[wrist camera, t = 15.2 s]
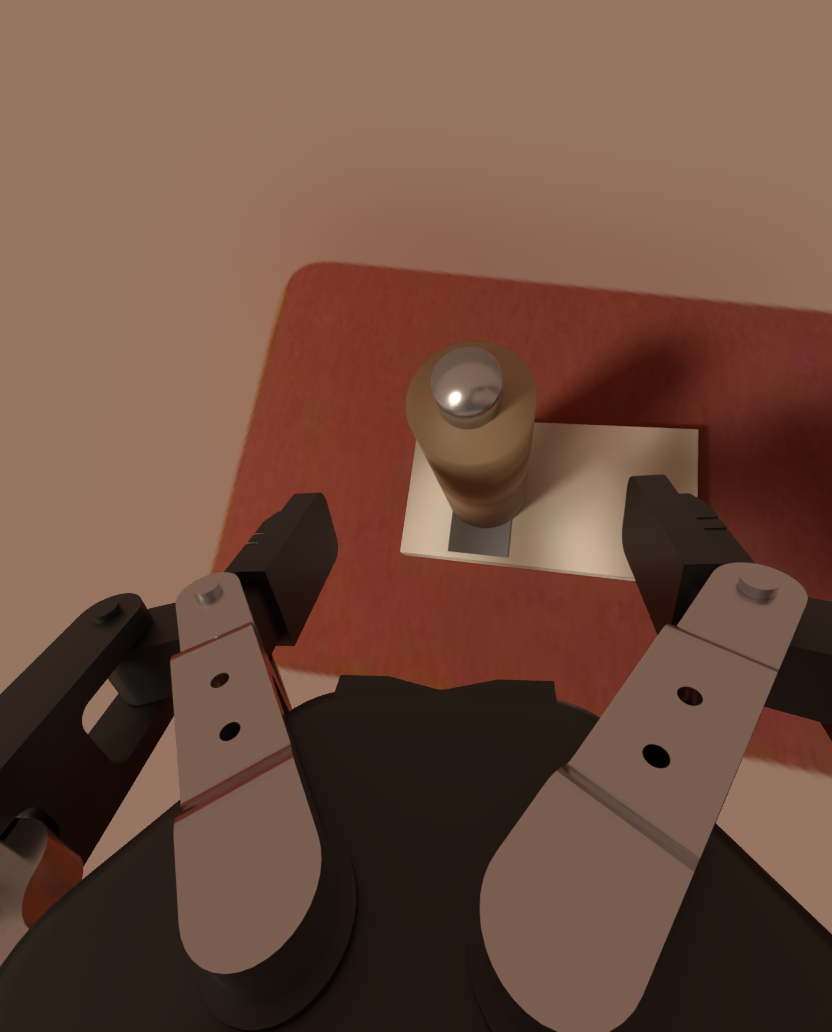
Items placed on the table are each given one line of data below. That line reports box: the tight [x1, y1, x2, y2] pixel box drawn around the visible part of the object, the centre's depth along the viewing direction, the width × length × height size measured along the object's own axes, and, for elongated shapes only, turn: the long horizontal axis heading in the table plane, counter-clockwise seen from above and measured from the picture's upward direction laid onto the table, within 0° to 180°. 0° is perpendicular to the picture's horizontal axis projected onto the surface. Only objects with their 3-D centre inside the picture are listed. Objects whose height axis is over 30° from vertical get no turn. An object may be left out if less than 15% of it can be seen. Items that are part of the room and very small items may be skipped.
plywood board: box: [400, 422, 698, 581], centre depth 23 cm, size 14×8×1 cm, turn 82°
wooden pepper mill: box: [406, 341, 537, 528], centre depth 18 cm, size 4×4×11 cm
